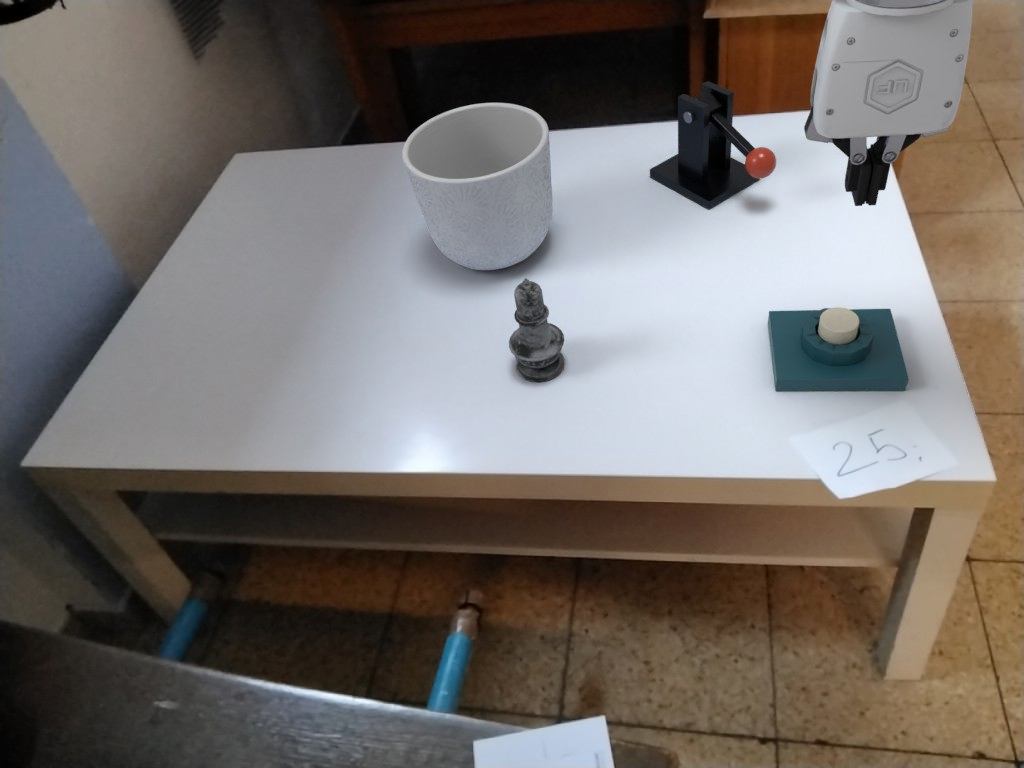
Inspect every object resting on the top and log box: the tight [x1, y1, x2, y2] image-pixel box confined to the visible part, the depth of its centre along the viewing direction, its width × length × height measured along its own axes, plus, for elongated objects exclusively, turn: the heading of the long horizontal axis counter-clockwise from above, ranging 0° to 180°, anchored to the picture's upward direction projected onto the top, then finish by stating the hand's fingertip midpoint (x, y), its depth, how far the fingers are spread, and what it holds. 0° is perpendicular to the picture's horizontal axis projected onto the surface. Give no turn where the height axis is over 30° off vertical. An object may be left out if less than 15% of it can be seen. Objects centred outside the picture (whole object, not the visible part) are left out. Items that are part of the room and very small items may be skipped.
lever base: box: [649, 80, 760, 210], centre depth 104 cm, size 11×9×12 cm
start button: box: [818, 306, 859, 345], centre depth 81 cm, size 4×4×2 cm
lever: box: [693, 90, 777, 180], centre depth 100 cm, size 13×4×4 cm, turn 35°
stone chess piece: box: [508, 278, 566, 383], centre depth 85 cm, size 6×6×12 cm
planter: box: [401, 102, 553, 271], centre depth 99 cm, size 17×17×15 cm
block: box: [767, 307, 910, 392], centre depth 83 cm, size 12×10×4 cm
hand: (862, 196), depth 70 cm, fingers closed
